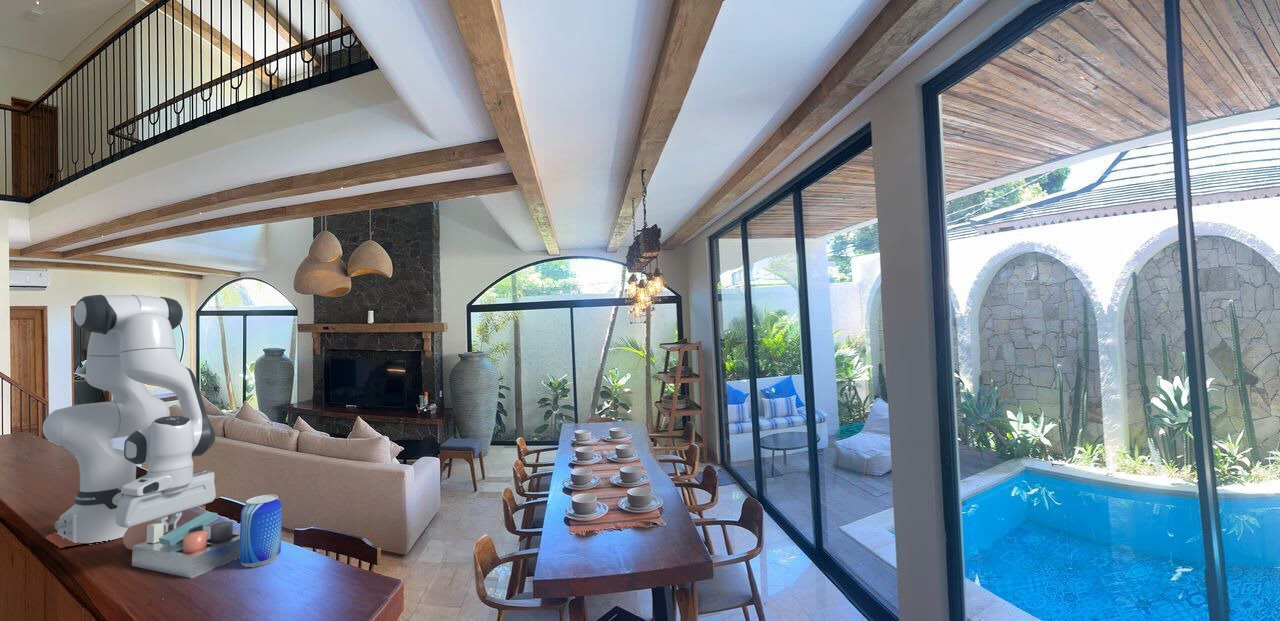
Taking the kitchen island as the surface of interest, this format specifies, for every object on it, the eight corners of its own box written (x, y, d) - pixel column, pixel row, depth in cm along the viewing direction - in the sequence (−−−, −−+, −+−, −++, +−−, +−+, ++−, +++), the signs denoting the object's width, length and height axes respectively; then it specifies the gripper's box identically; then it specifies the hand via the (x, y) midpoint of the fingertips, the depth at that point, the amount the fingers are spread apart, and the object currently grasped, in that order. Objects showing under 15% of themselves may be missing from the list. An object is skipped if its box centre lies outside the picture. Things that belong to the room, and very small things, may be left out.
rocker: (160, 543, 122) (158, 538, 122) (208, 516, 132) (206, 511, 132) (171, 545, 121) (169, 540, 121) (218, 518, 131) (217, 513, 131)
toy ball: (171, 544, 134) (172, 515, 135) (137, 557, 127) (139, 526, 127) (148, 542, 136) (149, 513, 136) (114, 554, 128) (115, 524, 128)
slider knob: (146, 541, 124) (147, 524, 124) (156, 538, 126) (156, 521, 126) (153, 543, 123) (154, 525, 123) (163, 540, 125) (163, 522, 125)
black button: (205, 550, 125) (206, 527, 125) (224, 543, 129) (225, 520, 129) (217, 552, 124) (218, 529, 124) (236, 545, 128) (237, 522, 128)
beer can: (257, 570, 119) (259, 505, 120) (230, 567, 121) (232, 503, 122) (288, 555, 128) (290, 494, 128) (262, 552, 129) (264, 492, 130)
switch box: (131, 565, 122) (133, 532, 122) (196, 542, 135) (197, 512, 136) (191, 578, 116) (192, 543, 116) (252, 552, 129) (253, 520, 130)
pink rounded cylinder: (178, 561, 119) (178, 536, 119) (198, 553, 123) (199, 529, 124) (190, 563, 118) (191, 538, 118) (210, 555, 122) (211, 531, 122)
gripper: (206, 466, 139) (204, 515, 138) (112, 489, 119) (110, 546, 119) (222, 468, 137) (220, 517, 137) (129, 491, 117) (127, 549, 117)
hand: (168, 531), depth 127 cm, fingers closed
